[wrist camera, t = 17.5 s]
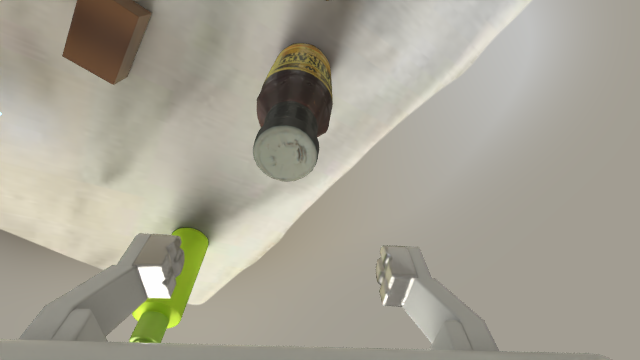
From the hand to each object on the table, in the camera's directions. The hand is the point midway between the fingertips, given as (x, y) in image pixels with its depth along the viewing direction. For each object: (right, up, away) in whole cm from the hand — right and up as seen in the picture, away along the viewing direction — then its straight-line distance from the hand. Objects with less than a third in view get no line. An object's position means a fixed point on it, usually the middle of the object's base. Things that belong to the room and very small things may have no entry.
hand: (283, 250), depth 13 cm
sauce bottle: (-1, +16, +23) cm, 28 cm away
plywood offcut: (-20, +18, +20) cm, 34 cm away
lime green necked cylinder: (-19, -7, +37) cm, 42 cm away
